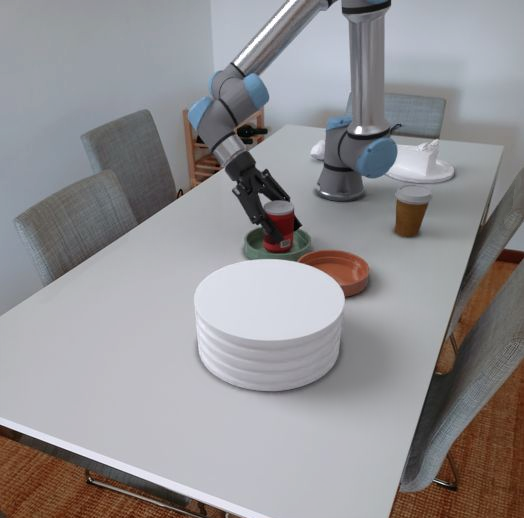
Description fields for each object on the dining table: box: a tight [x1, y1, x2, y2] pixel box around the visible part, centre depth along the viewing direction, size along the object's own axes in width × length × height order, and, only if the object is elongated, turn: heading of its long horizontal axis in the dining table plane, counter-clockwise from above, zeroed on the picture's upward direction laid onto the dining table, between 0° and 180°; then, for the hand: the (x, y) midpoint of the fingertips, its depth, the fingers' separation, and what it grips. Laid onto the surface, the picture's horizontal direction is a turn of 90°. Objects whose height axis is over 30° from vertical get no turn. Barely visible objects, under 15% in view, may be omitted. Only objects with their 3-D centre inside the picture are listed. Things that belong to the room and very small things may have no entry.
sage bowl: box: [243, 225, 312, 262], centre depth 132 cm, size 17×17×3 cm
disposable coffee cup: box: [394, 183, 433, 238], centre depth 138 cm, size 10×10×12 cm
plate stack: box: [193, 259, 346, 392], centre depth 98 cm, size 28×28×12 cm
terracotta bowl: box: [297, 249, 371, 298], centre depth 121 cm, size 17×17×3 cm
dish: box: [385, 138, 455, 184], centre depth 178 cm, size 25×25×11 cm
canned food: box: [263, 200, 295, 253], centre depth 129 cm, size 8×8×11 cm
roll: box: [309, 139, 325, 161], centre depth 188 cm, size 6×12×6 cm, turn 159°
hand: (289, 235), depth 128 cm, fingers closed on canned food, 8 cm apart
